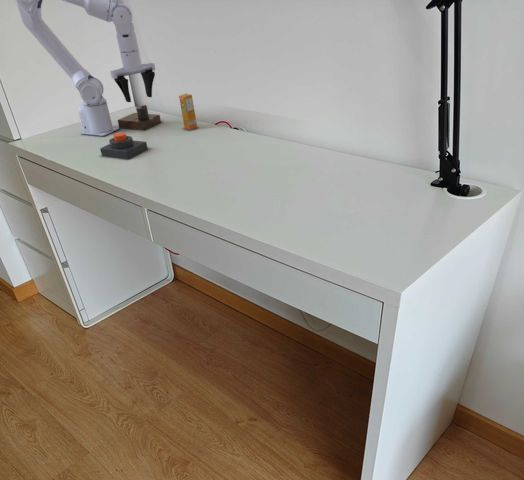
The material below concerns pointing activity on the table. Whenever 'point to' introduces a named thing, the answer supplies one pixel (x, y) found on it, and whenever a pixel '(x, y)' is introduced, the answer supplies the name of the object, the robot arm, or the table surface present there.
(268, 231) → the table surface
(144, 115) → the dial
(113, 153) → the switch block
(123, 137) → the button
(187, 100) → the supplement box
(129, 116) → the brown wooden block
